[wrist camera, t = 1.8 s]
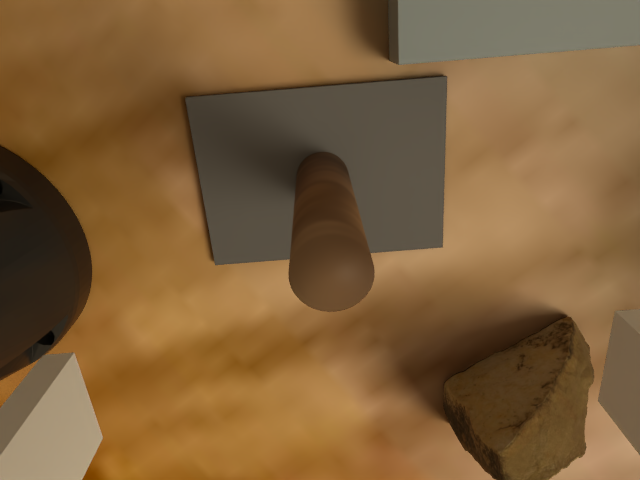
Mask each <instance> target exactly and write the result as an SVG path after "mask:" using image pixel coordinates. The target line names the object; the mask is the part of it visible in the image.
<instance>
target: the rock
mask: <svg viewBox="0 0 640 480" xmlns="http://www.w3.org/2000/svg"><path fill="white" fill-rule="evenodd" d="M590 358H591V357H590V347H589V345H588V344H587V343H586V341H585V339H584V337H583V335H582V334H581V332H580V331H579V329H578V327H577V325H576V324H575V322H574V321H573V320H572V318H571V317H566V318H563V319H561V320H558V321H556V322H554V323H553V324H551V325H549V326H548V327H546V328H544V329H542V330H541V331H540V332H538V333H536V334H534V335H532V336H529V337H528V338H526V339H524V340H521V341H520V342H518V343H517V344H516V345H514V346H512V347H510V348H508V349H506V350H504V351H501V352H497V353H495V354H493V355H491V356H490V357H488V358H486V359H484V360H482V361H479V362H478V363H476V364H475V365H473V366H472V367H470V368H468V369H467V370H466V371H464V372H461V373H458V374H455V375H454V376H452V377H451V378H449V379H448V380H447V381H446V382H445V384H444V395H443V397H444V410H445V413H446V416H447V418H448V420H449V423H450V425H451V427H452V429H453V430H454V432H455V434H456V436H457V438H458V440H459V441H460V443H461V444H462V446H463V448H464V449H465V451H468V452H469V453H470V454H471V455H472V456H473V458H474V459H475V460H476V461H477V462H478V463H479V464H480V465H481V467H482V468H483V469H484V470H485V472H487V473H489V474H490V475H491V476H492V478H493V479H496V480H549V479H550V478H552V477H553V476H554V475H556V474H558V473H559V472H560V471H561V469H564V468H567V467H568V466H569V465H570V463H571V462H573V461H574V460H575V459H577V458H578V457H579V458H581V457H582V456H583V455H584V454H585V450H586V443H585V435H584V429H585V418H586V415H587V402H588V390H589V388H590V386H591V385H592V384H593V381H594V370H593V367H592V364H591V361H590Z"/></svg>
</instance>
